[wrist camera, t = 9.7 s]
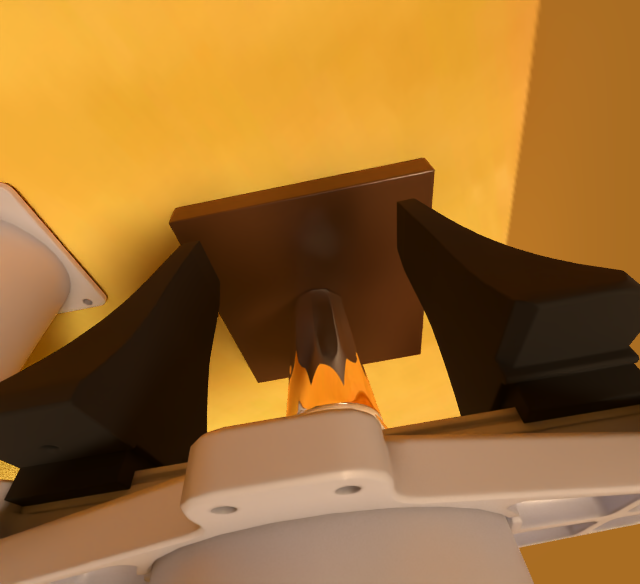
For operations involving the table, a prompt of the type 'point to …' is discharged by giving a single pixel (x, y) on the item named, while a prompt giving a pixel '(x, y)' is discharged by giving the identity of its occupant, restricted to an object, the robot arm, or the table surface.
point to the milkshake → (325, 359)
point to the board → (313, 260)
